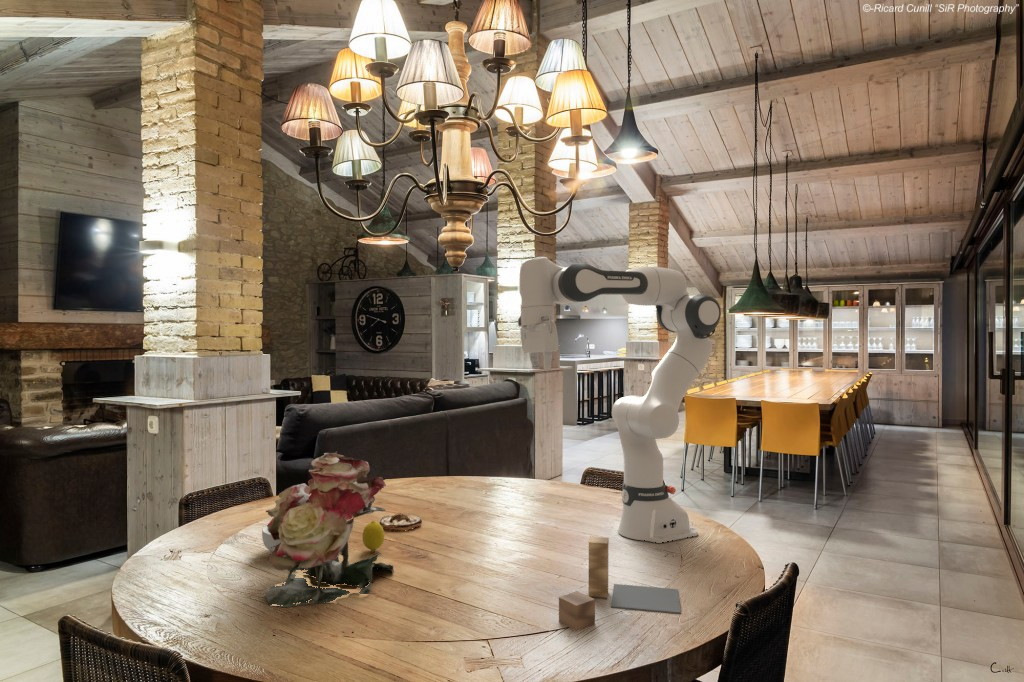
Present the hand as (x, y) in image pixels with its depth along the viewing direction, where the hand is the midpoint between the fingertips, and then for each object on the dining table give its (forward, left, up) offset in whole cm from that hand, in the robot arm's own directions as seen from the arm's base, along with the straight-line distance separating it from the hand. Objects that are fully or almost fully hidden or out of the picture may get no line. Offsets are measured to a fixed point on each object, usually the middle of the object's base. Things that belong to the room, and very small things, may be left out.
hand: (541, 369), depth 168 cm
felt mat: (-10, +38, -47) cm, 62 cm away
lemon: (+43, -10, -48) cm, 65 cm away
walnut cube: (+9, +44, -48) cm, 66 cm away
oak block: (-1, +33, -48) cm, 58 cm away
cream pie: (+33, -31, -48) cm, 66 cm away
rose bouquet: (+56, +10, -48) cm, 74 cm away
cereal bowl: (+62, -15, -48) cm, 80 cm away
